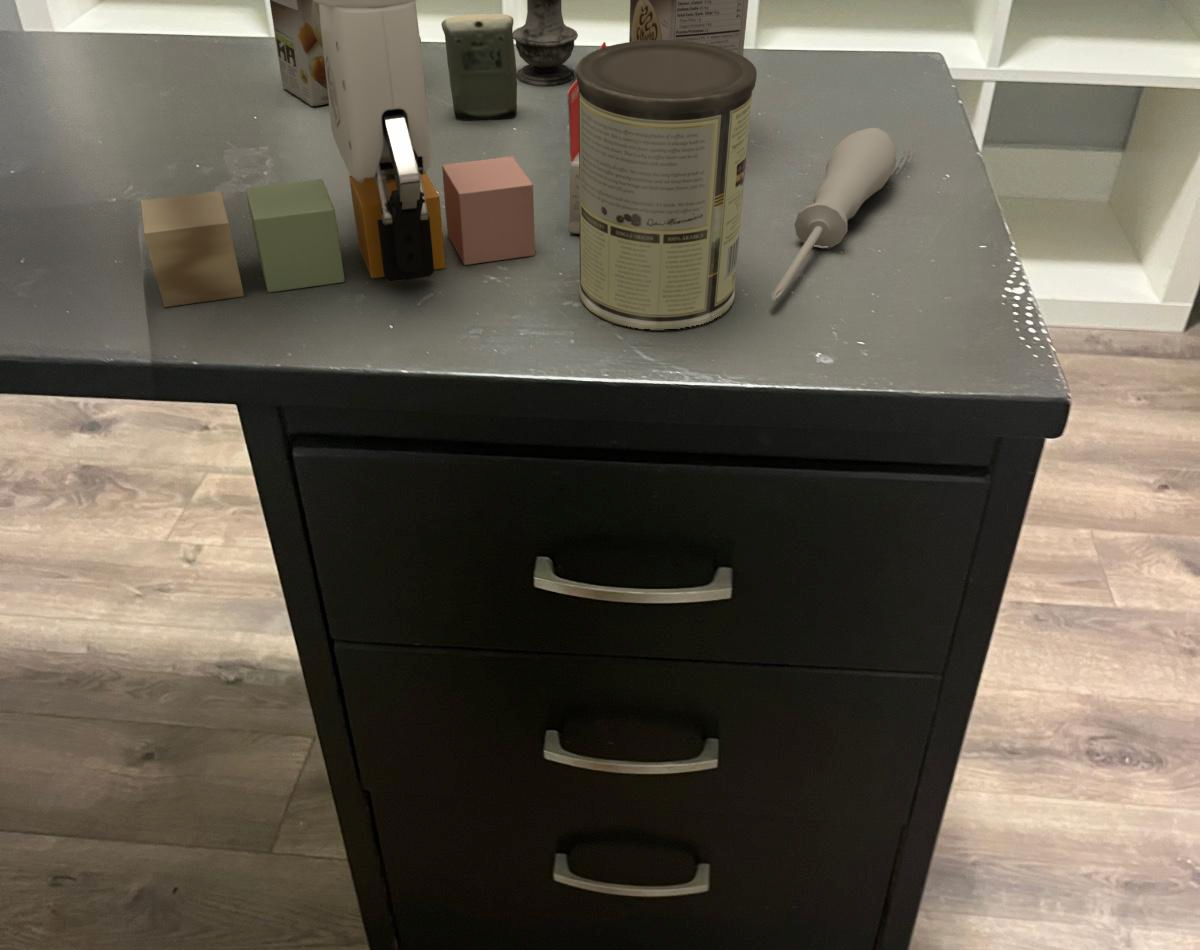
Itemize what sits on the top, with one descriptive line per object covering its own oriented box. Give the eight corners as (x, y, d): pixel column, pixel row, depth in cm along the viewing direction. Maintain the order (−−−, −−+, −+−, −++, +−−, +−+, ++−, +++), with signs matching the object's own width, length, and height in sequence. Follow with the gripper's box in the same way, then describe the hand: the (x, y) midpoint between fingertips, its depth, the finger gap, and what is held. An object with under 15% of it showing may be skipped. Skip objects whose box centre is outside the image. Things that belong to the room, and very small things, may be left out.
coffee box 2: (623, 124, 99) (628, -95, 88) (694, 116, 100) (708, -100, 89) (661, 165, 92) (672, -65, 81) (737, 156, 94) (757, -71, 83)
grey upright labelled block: (471, 132, 97) (465, 29, 91) (436, 114, 100) (428, 13, 94) (527, 116, 100) (524, 15, 94) (491, 99, 103) (486, 0, 97)
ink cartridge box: (634, 177, 90) (638, 42, 84) (600, 239, 82) (602, 95, 76) (602, 173, 91) (604, 39, 84) (566, 235, 83) (565, 92, 76)
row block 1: (163, 307, 74) (144, 232, 71) (159, 272, 78) (140, 199, 75) (244, 296, 76) (228, 222, 72) (236, 262, 79) (221, 190, 76)
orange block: (371, 278, 78) (362, 205, 74) (358, 246, 81) (348, 175, 78) (445, 268, 79) (439, 196, 76) (429, 237, 82) (423, 166, 79)
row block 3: (464, 265, 79) (458, 193, 76) (447, 234, 83) (441, 164, 79) (535, 255, 80) (533, 184, 77) (515, 225, 84) (513, 155, 81)
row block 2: (267, 293, 76) (253, 219, 73) (259, 259, 80) (245, 187, 76) (345, 282, 77) (334, 209, 74) (333, 249, 81) (322, 178, 77)
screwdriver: (741, 330, 76) (732, 269, 74) (847, 171, 92) (842, 117, 90) (813, 330, 74) (805, 268, 72) (907, 168, 90) (904, 112, 88)
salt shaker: (556, 91, 104) (555, -61, 96) (501, 79, 106) (494, -70, 98) (589, 71, 108) (590, -75, 100) (534, 61, 110) (531, -84, 102)
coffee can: (567, 261, 80) (566, 41, 70) (716, 253, 81) (734, 35, 72) (588, 337, 72) (589, 102, 63) (751, 327, 73) (777, 94, 64)
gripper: (279, -70, 73) (320, 203, 85) (322, 11, 61) (363, 316, 72) (399, -78, 75) (423, 190, 87) (463, -1, 63) (481, 299, 74)
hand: (396, 246), depth 79 cm, fingers open, 8 cm apart
